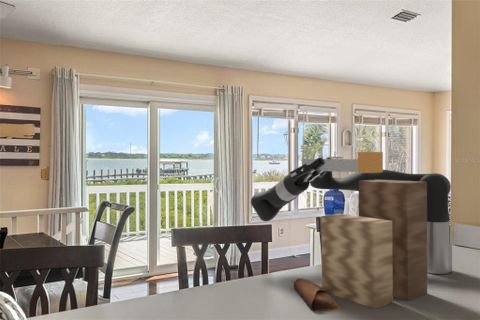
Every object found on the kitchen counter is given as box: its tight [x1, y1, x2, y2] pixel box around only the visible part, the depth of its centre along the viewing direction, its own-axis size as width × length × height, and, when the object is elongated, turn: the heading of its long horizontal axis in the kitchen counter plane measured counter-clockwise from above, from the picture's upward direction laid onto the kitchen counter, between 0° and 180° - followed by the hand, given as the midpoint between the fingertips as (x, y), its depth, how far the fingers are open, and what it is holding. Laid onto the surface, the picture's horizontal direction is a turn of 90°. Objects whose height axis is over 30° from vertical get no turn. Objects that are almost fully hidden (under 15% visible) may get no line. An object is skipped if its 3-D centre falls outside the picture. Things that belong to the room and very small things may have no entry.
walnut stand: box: [358, 180, 428, 302], centre depth 122 cm, size 16×10×32 cm, turn 37°
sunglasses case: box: [292, 277, 341, 312], centre depth 116 cm, size 18×7×7 cm
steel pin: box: [301, 151, 384, 173], centre depth 121 cm, size 26×6×6 cm, turn 37°
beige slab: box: [321, 213, 394, 309], centre depth 117 cm, size 18×8×22 cm, turn 37°
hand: (326, 160), depth 125 cm, fingers closed on steel pin, 3 cm apart
